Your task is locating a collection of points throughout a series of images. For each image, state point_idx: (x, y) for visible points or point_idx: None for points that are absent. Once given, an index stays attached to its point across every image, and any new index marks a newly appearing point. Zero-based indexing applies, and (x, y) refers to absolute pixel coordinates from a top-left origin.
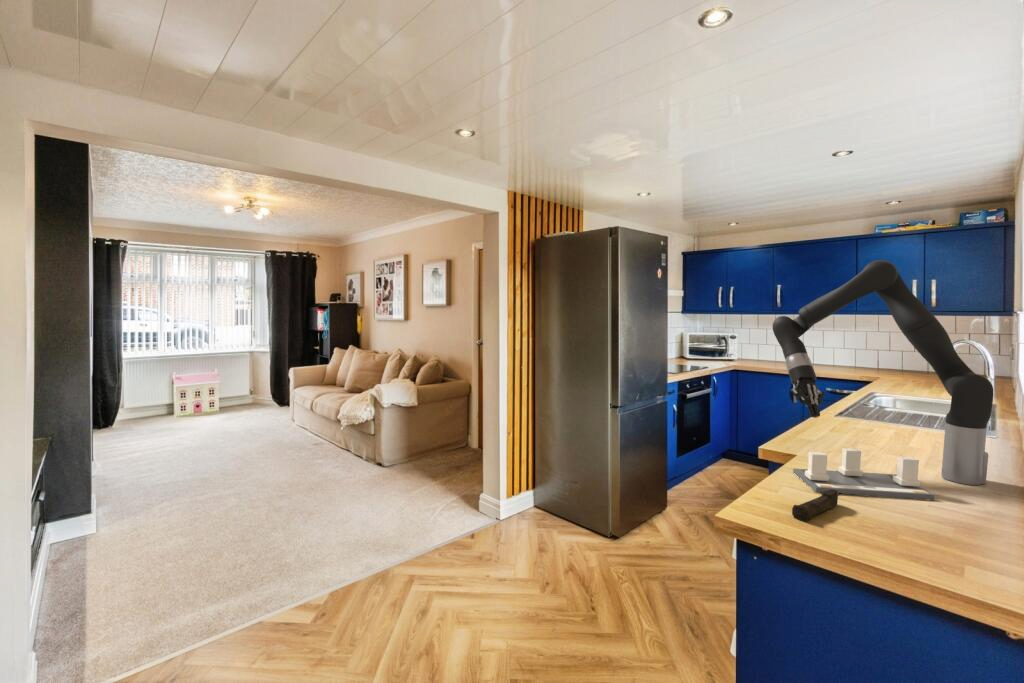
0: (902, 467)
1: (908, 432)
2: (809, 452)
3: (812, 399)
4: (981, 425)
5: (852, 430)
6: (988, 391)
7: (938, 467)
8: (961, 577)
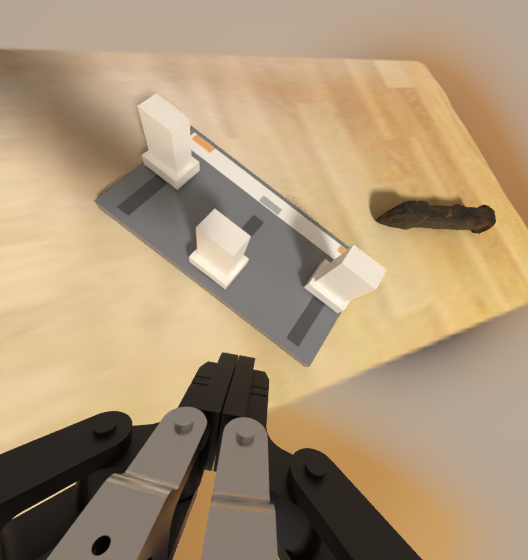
0: (189, 139)
1: None
2: (377, 286)
3: (227, 473)
4: None
5: None
6: None
7: None
8: (416, 88)
